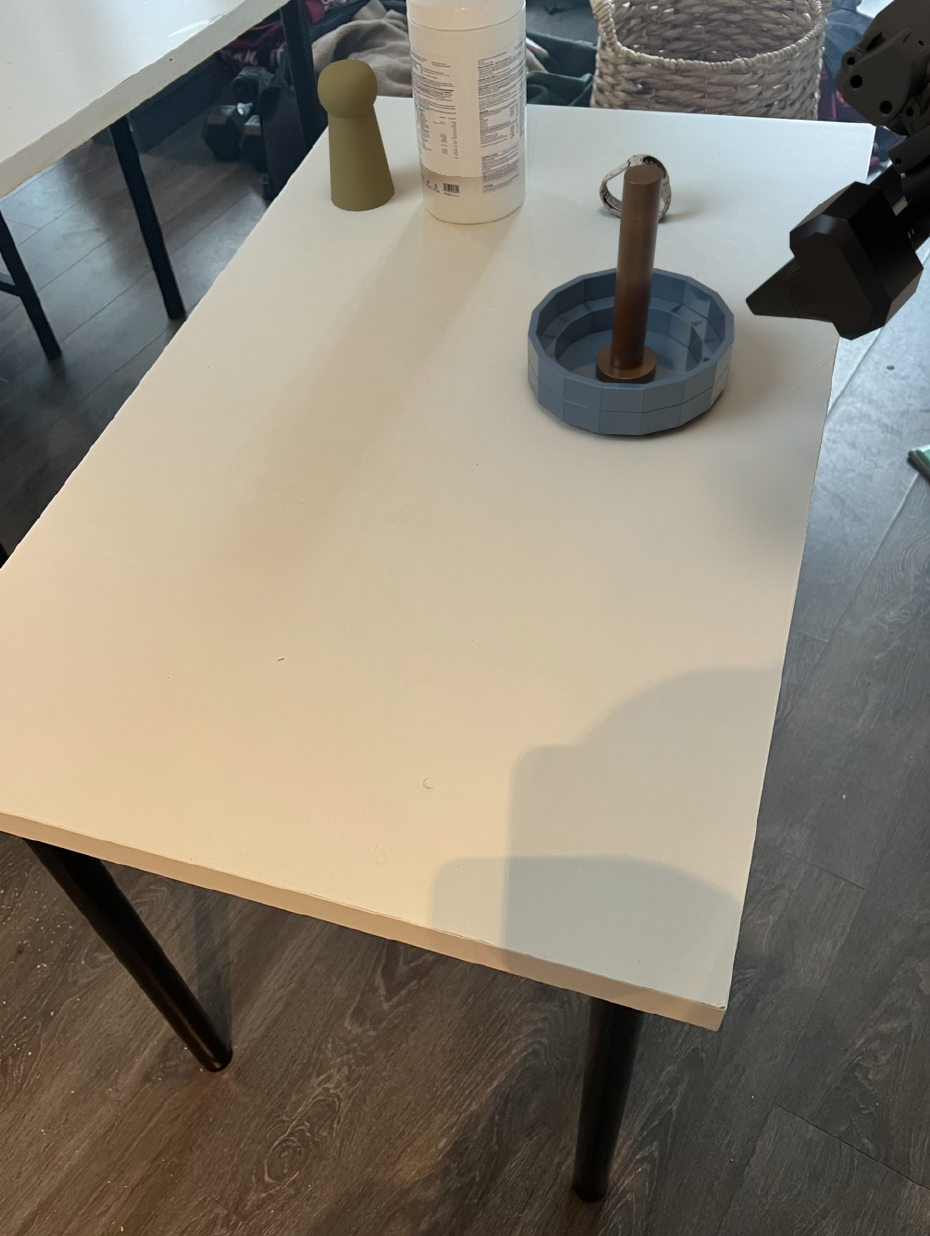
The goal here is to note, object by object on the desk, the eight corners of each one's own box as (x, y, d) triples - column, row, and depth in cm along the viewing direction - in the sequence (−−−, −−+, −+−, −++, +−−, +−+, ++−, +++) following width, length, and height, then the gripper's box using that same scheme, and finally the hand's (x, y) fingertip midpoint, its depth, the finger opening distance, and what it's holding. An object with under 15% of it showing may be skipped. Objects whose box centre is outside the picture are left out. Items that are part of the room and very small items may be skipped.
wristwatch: (662, 230, 83) (669, 171, 79) (593, 220, 85) (596, 162, 81) (674, 209, 85) (681, 150, 81) (606, 199, 87) (610, 141, 83)
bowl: (682, 305, 77) (689, 251, 73) (755, 416, 69) (768, 362, 65) (507, 342, 76) (506, 290, 73) (560, 459, 68) (562, 407, 64)
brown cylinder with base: (668, 369, 72) (695, 170, 60) (627, 398, 70) (646, 200, 58) (623, 345, 74) (640, 148, 62) (582, 372, 72) (592, 176, 61)
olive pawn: (320, 190, 93) (298, 64, 84) (377, 170, 94) (360, 43, 85) (347, 218, 90) (326, 89, 81) (405, 196, 91) (391, 67, 82)
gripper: (1076, -133, 45) (802, 76, 59) (888, 25, 38) (626, 220, 52) (1172, 88, 48) (889, 238, 62) (1013, 273, 41) (734, 395, 55)
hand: (790, 267), depth 57 cm, fingers open, 9 cm apart
